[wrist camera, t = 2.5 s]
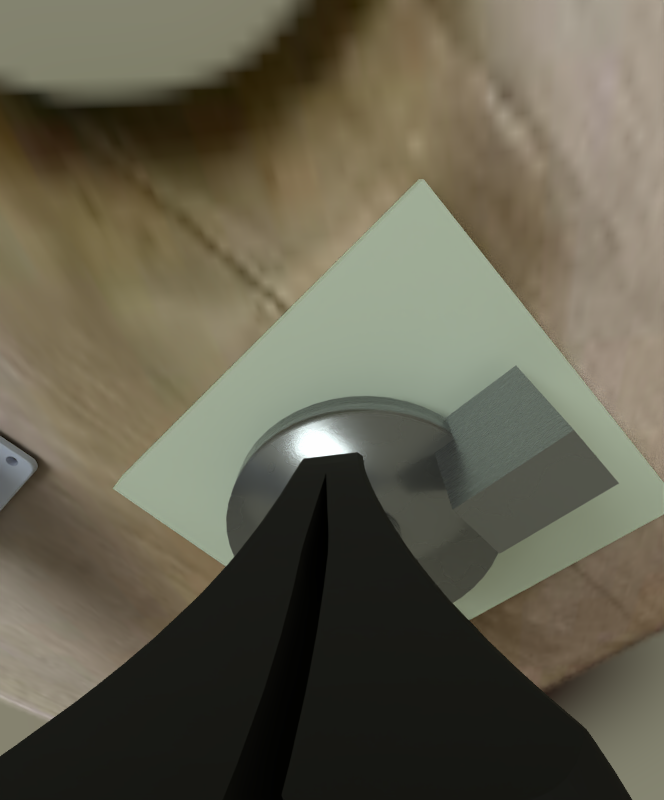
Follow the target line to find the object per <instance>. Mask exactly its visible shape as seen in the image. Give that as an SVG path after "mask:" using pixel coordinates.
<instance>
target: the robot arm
mask: <svg viewBox="0 0 664 800" xmlns="http://www.w3.org/2000/svg"><path fill="white" fill-rule="evenodd" d="M13 457H14V458H15V459H16V460H15V459H14V458H13ZM37 468H38V465H37V462H36V460H35V459H34V458H32V457H31V456H29V455H28V454H26V453H25V452H24V451H22V450H21V449H19V448H18V447H16V446H15V445H13V444H12V443H10V442H9V441H7V440H6V439H4V438H3V437H1V436H0V511H1V510H2V509H3V508H4V506H5V505H6V504H7V503H8V502H9V501H10V500H11V498H12V497H13V496H14V495H15V494H16V493H17V492H18V490H19V489H20V488H21V487H22V486H23V485H24V484H25V482H26V481H27V480H28V479H29V478H30V477H31V476H32V475H33V473H34V472H35V471H36V470H37ZM0 800H632V799H631V797H630V795H629V794H628V792H627V790H626V789H625V787H624V785H623V784H622V782H621V781H620V779H619V777H618V776H617V774H616V773H615V771H614V769H613V768H612V766H611V765H610V763H609V762H608V760H607V759H606V757H605V756H604V754H603V753H602V751H601V750H600V748H599V747H598V745H597V744H596V742H595V741H594V739H593V738H592V737H591V735H590V734H589V732H588V731H587V730H586V729H585V728H584V727H583V726H582V725H581V724H580V723H579V722H577V721H576V720H575V719H574V718H573V717H572V716H570V715H569V714H568V713H567V712H566V711H565V710H564V709H562V708H561V707H560V706H559V705H558V704H556V703H555V702H554V701H553V700H552V699H550V698H549V697H548V696H547V695H546V694H545V693H544V692H543V691H542V690H541V689H539V688H538V687H537V686H536V685H535V684H534V683H533V682H532V681H530V680H529V679H528V678H527V677H526V676H525V675H524V674H523V673H522V672H520V671H519V670H518V669H517V668H516V667H515V666H514V665H513V664H512V663H511V662H510V661H509V660H508V659H507V658H506V657H505V656H504V655H503V654H502V653H501V652H499V651H498V650H497V649H496V648H495V647H494V646H493V645H492V644H491V643H490V642H489V641H488V640H487V639H486V638H485V637H484V636H483V635H482V634H481V633H480V632H479V630H478V629H477V628H476V627H475V626H474V625H473V624H472V623H471V622H470V621H469V620H468V619H467V618H466V617H465V616H464V615H463V614H462V613H461V611H460V610H459V609H458V608H457V607H456V606H455V605H454V604H453V603H452V602H451V601H450V600H449V599H448V598H447V596H446V595H445V594H444V593H443V592H442V590H441V589H440V588H439V587H438V586H437V585H436V583H435V582H434V581H433V580H432V579H431V577H430V576H429V575H428V574H427V572H426V571H425V570H424V568H423V567H422V566H421V565H420V563H419V562H418V561H417V559H416V558H415V557H414V555H413V554H412V553H411V551H410V550H409V548H408V547H407V546H406V544H405V543H404V541H403V540H402V538H401V537H400V535H399V534H398V532H397V531H396V529H395V528H394V526H393V524H392V523H391V521H390V519H389V518H388V516H387V515H386V513H385V511H384V509H383V507H382V505H381V503H380V502H379V500H378V498H377V496H376V494H375V492H374V490H373V488H372V486H371V483H370V481H369V479H368V476H367V473H366V470H365V466H364V460H363V456H362V455H361V454H359V453H358V452H353V453H345V454H336V455H328V456H319V457H311V458H304V459H303V460H302V461H301V462H300V464H299V465H298V467H297V469H296V470H295V472H294V473H293V475H292V477H291V478H290V480H289V481H288V483H287V485H286V486H285V488H284V489H283V491H282V492H281V494H280V495H279V497H278V498H277V500H276V501H275V503H274V504H273V506H272V507H271V509H270V510H269V511H268V513H267V514H266V516H265V517H264V519H263V520H262V522H261V523H260V524H259V526H258V527H257V528H256V530H255V531H254V532H253V533H252V535H251V536H250V537H249V539H248V540H247V541H246V542H245V544H244V545H243V546H242V548H241V549H240V550H239V551H238V553H237V554H236V555H235V556H234V558H233V559H232V560H231V561H230V562H229V563H228V565H227V566H226V567H225V568H224V569H223V570H222V571H221V573H220V574H219V575H218V576H217V577H216V578H215V579H214V580H213V581H212V582H211V584H210V585H209V586H208V587H207V588H206V589H205V590H204V591H203V592H202V593H201V594H200V595H199V596H198V597H197V598H196V599H195V600H194V601H193V602H192V603H191V604H190V605H189V606H188V607H187V608H186V609H185V610H184V611H183V612H181V613H180V614H179V615H178V616H177V617H176V618H175V619H174V620H173V621H172V622H171V623H170V624H169V625H168V626H167V627H165V628H164V629H163V630H162V631H161V632H160V633H159V634H158V635H157V636H156V637H155V638H154V639H153V640H151V641H150V642H149V643H148V644H147V645H146V646H144V647H143V648H142V649H141V650H140V651H139V652H137V653H136V654H135V655H134V656H133V657H131V658H130V659H129V660H128V661H127V662H126V663H124V664H123V665H122V666H121V667H119V668H118V669H117V670H116V671H114V672H113V673H112V674H111V675H109V676H108V677H107V678H106V679H104V680H103V681H102V682H101V683H99V684H98V685H97V686H96V687H94V688H93V689H92V690H91V691H89V692H88V693H87V694H85V695H84V696H83V697H81V698H80V699H79V700H78V701H76V702H75V703H74V704H72V705H71V706H69V707H68V708H67V709H65V710H64V711H62V712H61V713H60V714H58V715H57V716H56V717H54V718H53V719H51V720H50V721H49V722H47V723H46V724H45V725H43V726H42V727H40V728H39V729H38V730H36V731H35V732H34V733H32V734H31V735H29V736H28V737H27V738H25V739H24V740H22V741H21V742H20V743H18V744H17V745H16V746H14V747H13V748H11V749H10V750H8V751H7V752H6V753H4V754H3V755H1V756H0Z"/></svg>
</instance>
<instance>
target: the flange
mask: <svg viewBox="0 0 664 800" xmlns="http://www.w3.org/2000/svg"><path fill="white" fill-rule="evenodd" d="M353 452H358V453H359V454H361V455H362V456H363V460H364V466H365V470H366V473H367V476H368V479H369V481H370V483H371V486H372V488H373V490H374V492H375V494H376V496H377V498H378V500H379V502H380V503H381V505H382V507H383V509H384V511H385V513H386V515H387V516H388V518H389V519H390V521H391V523H392V524H393V526H394V528H395V529H396V531H397V532H398V534H399V535H400V537H401V538H402V540H403V541H404V543H405V544H406V546H407V547H408V548H409V550H410V551H411V553H412V554H413V555H414V557H415V558H416V559H417V561H418V562H419V563H420V565H421V566H422V567H423V568H424V570H425V571H426V572H427V574H428V575H429V576H430V577H431V579H432V580H433V581H434V582H435V583H436V585H437V586H438V587H439V588H440V589H441V590H442V592H443V593H444V594H445V595H446V596H447V598H448V599H449V600H450V601H451V602H452V603H454V602H455V601H457V600H458V599H460V598H462V597H463V596H464V595H465V594H466V593H468V592H469V591H470V590H471V589H473V588H474V587H475V586H476V585H477V583H478V582H479V581H480V580H481V579H482V578H483V577H484V576H485V574H486V573H487V572H488V570H489V569H490V568H491V566H492V564H493V562H494V560H495V559H496V557H497V555H498V553H499V554H500V553H502V552H503V551H505V550H507V549H509V548H510V547H512V546H514V545H515V544H517V543H519V542H520V541H522V540H524V539H526V538H527V537H529V536H531V535H532V534H534V533H536V532H537V531H539V530H541V529H543V528H544V527H546V526H548V525H549V524H551V523H553V522H554V521H556V520H558V519H559V518H561V517H563V516H565V515H566V514H568V513H570V512H571V511H573V510H575V509H576V508H578V507H580V506H582V505H583V504H585V503H587V502H588V501H590V500H592V499H593V498H595V497H597V496H599V495H600V494H602V493H604V492H605V491H607V490H609V489H610V488H612V487H614V486H616V485H617V484H619V482H618V481H617V480H616V479H615V478H614V477H613V475H612V474H611V473H610V472H609V471H608V469H607V468H606V467H605V466H604V465H603V464H602V462H601V461H600V460H599V459H598V458H597V456H596V455H595V454H594V453H593V452H592V451H591V449H590V448H589V447H588V446H587V445H586V443H585V442H584V441H583V440H582V439H581V438H580V436H579V435H578V434H577V433H576V432H575V430H574V429H573V428H572V427H571V426H570V425H569V424H568V423H567V421H566V420H565V419H564V418H563V417H562V416H561V415H560V414H559V413H558V411H557V410H556V409H555V408H554V407H553V406H552V405H551V404H550V403H549V401H548V400H547V399H546V398H545V397H544V396H543V395H542V394H541V393H540V391H539V390H538V389H537V388H536V387H535V386H534V385H533V384H532V383H531V381H530V380H529V379H528V378H527V377H526V376H525V375H524V374H523V372H522V371H521V370H520V369H519V368H518V367H517V366H514V367H513V368H512V369H510V370H509V371H508V372H506V373H505V374H504V375H502V376H501V377H500V378H498V379H497V380H496V381H494V382H493V383H492V384H490V385H489V386H488V387H486V388H485V389H484V390H482V391H481V392H480V393H478V394H477V395H476V396H474V397H473V398H472V399H470V400H469V401H468V402H466V403H465V404H463V405H462V406H461V407H459V408H458V409H457V410H455V411H454V412H453V413H451V414H450V415H449V416H447V417H446V418H444V417H443V416H441V415H440V414H438V413H435V412H433V411H431V410H429V409H427V408H425V407H422V406H419V405H416V404H413V403H411V402H408V401H403V400H398V399H393V398H388V397H376V396H351V397H344V398H337V399H331V400H327V401H323V402H320V403H316V404H313V405H310V406H308V407H305V408H303V409H301V410H298V411H296V412H294V413H292V414H291V415H289V416H287V417H285V418H284V419H282V420H280V421H279V422H278V423H276V424H275V425H274V426H272V427H271V428H270V429H269V430H267V431H266V432H265V433H264V434H263V435H262V436H261V437H260V438H259V440H258V441H257V442H256V443H255V444H254V446H253V447H252V448H251V450H250V451H249V453H248V454H247V456H246V458H245V460H244V462H243V464H242V466H241V468H240V471H239V473H238V476H237V479H236V482H235V484H234V487H233V490H232V493H231V496H230V499H229V503H228V508H227V515H226V527H227V536H228V540H229V545H230V548H231V550H232V553H233V555H234V556H235V555H236V554H237V553H238V551H239V550H240V549H241V548H242V546H243V545H244V544H245V542H246V541H247V540H248V539H249V537H250V536H251V535H252V533H253V532H254V531H255V530H256V528H257V527H258V526H259V524H260V523H261V522H262V520H263V519H264V517H265V516H266V514H267V513H268V511H269V510H270V509H271V507H272V506H273V504H274V503H275V501H276V500H277V498H278V497H279V495H280V494H281V492H282V491H283V489H284V488H285V486H286V485H287V483H288V481H289V480H290V478H291V477H292V475H293V473H294V472H295V470H296V469H297V467H298V465H299V464H300V462H301V461H302V460H303V459H304V458H311V457H319V456H328V455H336V454H345V453H353Z"/></svg>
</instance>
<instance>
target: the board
mask: <svg viewBox="0 0 664 800" xmlns="http://www.w3.org/2000/svg"><path fill="white" fill-rule="evenodd" d="M514 366H517V367H518V368H519V369H520V370H521V371H522V372H523V374H524V375H525V376H526V377H527V378H528V379H529V380H530V381H531V383H532V384H533V385H534V386H535V387H536V388H537V389H538V390H539V391H540V393H541V394H542V395H543V396H544V397H545V398H546V399H547V400H548V401H549V403H550V404H551V405H552V406H553V407H554V408H555V409H556V410H557V411H558V413H559V414H560V415H561V416H562V417H563V418H564V419H565V420H566V421H567V423H568V424H569V425H570V426H571V427H572V428H573V429H574V430H575V432H576V433H577V434H578V435H579V436H580V438H581V439H582V440H583V441H584V442H585V443H586V445H587V446H588V447H589V448H590V449H591V451H592V452H593V453H594V454H595V455H596V456H597V458H598V459H599V460H600V461H601V462H602V464H603V465H604V466H605V467H606V468H607V469H608V471H609V472H610V473H611V474H612V475H613V477H614V478H615V479H616V480H617V481H618V482H619V484H617V485H616V486H614V487H612V488H610V489H609V490H607V491H605V492H604V493H602V494H600V495H599V496H597V497H595V498H593V499H592V500H590V501H588V502H587V503H585V504H583V505H582V506H580V507H578V508H576V509H575V510H573V511H571V512H570V513H568V514H566V515H565V516H563V517H561V518H559V519H558V520H556V521H554V522H553V523H551V524H549V525H548V526H546V527H544V528H543V529H541V530H539V531H537V532H536V533H534V534H532V535H531V536H529V537H527V538H526V539H524V540H522V541H520V542H519V543H517V544H515V545H514V546H512V547H510V548H509V549H507V550H505V551H503V552H502V553H500V554H499V553H498V555H497V557H496V559H495V560H494V562H493V564H492V566H491V568H490V569H489V570H488V572H487V573H486V574H485V576H484V577H483V578H482V579H481V580H480V581H479V582H478V583H477V585H476V586H475V587H474V588H473V589H471V590H470V591H469V592H468V593H466V594H465V595H464V596H463V597H462V598H460V599H458V600H457V601H455V602H454V603H453V604H454V605H455V606H456V607H457V608H458V609H459V610H460V611H461V613H462V614H463V615H464V616H465V617H466V618H467V619H468V620H470V619H472V618H474V617H476V616H478V615H480V614H481V613H483V612H485V611H487V610H489V609H491V608H492V607H494V606H496V605H498V604H500V603H502V602H504V601H505V600H507V599H509V598H511V597H513V596H515V595H516V594H518V593H520V592H522V591H524V590H526V589H527V588H529V587H531V586H533V585H535V584H537V583H538V582H540V581H542V580H544V579H546V578H548V577H549V576H551V575H553V574H555V573H557V572H559V571H560V570H562V569H564V568H566V567H568V566H570V565H572V564H573V563H575V562H577V561H579V560H581V559H583V558H584V557H586V556H588V555H590V554H592V553H594V552H595V551H597V550H599V549H601V548H603V547H605V546H606V545H608V544H610V543H612V542H614V541H616V540H617V539H619V538H621V537H623V536H625V535H627V534H628V533H630V532H632V531H634V530H636V529H638V528H640V527H641V526H643V525H645V524H647V523H649V522H651V521H652V520H654V519H656V518H658V517H660V516H662V515H663V514H664V482H663V481H662V480H661V479H660V477H659V476H658V475H657V473H656V472H655V471H654V470H653V468H652V467H651V466H650V465H649V463H648V462H647V461H646V460H645V458H644V457H643V456H642V455H641V453H640V452H639V451H638V449H637V448H636V447H635V446H634V444H633V443H632V442H631V441H630V439H629V438H628V437H627V436H626V434H625V433H624V432H623V431H622V429H621V428H620V427H619V425H618V424H617V423H616V422H615V420H614V419H613V418H612V417H611V415H610V414H609V413H608V412H607V410H606V409H605V408H604V407H603V405H602V404H601V403H600V401H599V400H598V399H597V398H596V396H595V395H594V394H593V393H592V391H591V390H590V389H589V388H588V386H587V385H586V384H585V383H584V381H583V380H582V379H581V378H580V376H579V375H578V374H577V372H576V371H575V370H574V369H573V367H572V366H571V365H570V364H569V362H568V361H567V360H566V359H565V357H564V356H563V355H562V354H561V352H560V351H559V350H558V348H557V347H556V346H555V345H554V343H553V342H552V341H551V340H550V338H549V337H548V336H547V335H546V333H545V332H544V331H543V330H542V328H541V327H540V326H539V324H538V323H537V322H536V321H535V319H534V318H533V317H532V316H531V314H530V313H529V312H528V311H527V309H526V308H525V307H524V306H523V304H522V303H521V302H520V300H519V299H518V298H517V297H516V295H515V294H514V293H513V292H512V290H511V289H510V288H509V287H508V285H507V284H506V283H505V282H504V280H503V279H502V278H501V276H500V275H499V274H498V273H497V271H496V270H495V269H494V268H493V266H492V265H491V264H490V263H489V261H488V260H487V259H486V258H485V256H484V255H483V254H482V252H481V251H480V250H479V249H478V247H477V246H476V245H475V244H474V242H473V241H472V240H471V239H470V237H469V236H468V235H467V234H466V232H465V231H464V230H463V228H462V227H461V226H460V225H459V223H458V222H457V221H456V220H455V218H454V217H453V216H452V215H451V213H450V212H449V211H448V210H447V208H446V207H445V206H444V205H443V203H442V202H441V201H440V199H439V198H438V197H437V196H436V194H435V193H434V192H433V191H432V189H431V188H430V187H429V186H428V184H427V183H426V182H425V181H424V179H419V180H418V181H417V182H416V183H415V184H414V185H413V186H412V187H411V188H410V189H409V190H408V191H407V192H406V193H405V194H404V195H403V196H402V197H401V198H400V199H399V200H398V201H397V202H396V203H395V204H394V205H393V206H392V207H391V208H390V209H389V210H388V211H387V212H386V213H385V214H384V215H383V216H382V217H381V218H380V219H379V220H378V221H377V222H376V223H375V224H374V225H373V226H372V227H371V228H370V229H369V230H368V231H367V232H366V233H365V234H364V235H363V236H362V237H361V238H360V239H359V240H358V241H357V242H356V243H355V244H354V245H353V246H352V247H351V248H350V249H349V250H348V251H347V252H346V253H345V254H344V255H343V256H342V257H341V258H340V259H339V260H338V261H337V262H336V263H335V264H334V265H333V266H332V267H331V268H330V269H329V270H328V271H327V272H326V273H325V274H324V275H323V276H322V277H321V278H320V279H319V280H318V281H317V282H316V283H315V284H314V285H313V286H312V287H311V288H310V289H309V290H308V291H307V292H306V293H305V294H304V295H303V296H302V297H301V298H300V299H299V300H298V301H297V302H296V303H295V304H294V305H293V306H292V307H291V308H290V309H289V310H288V311H287V312H286V313H285V314H284V315H283V316H282V317H281V318H280V319H279V320H278V321H277V322H276V323H275V324H274V325H273V326H272V327H271V328H270V329H269V330H268V331H267V332H266V333H265V334H264V335H263V336H262V337H261V338H260V339H259V340H258V341H257V342H256V343H255V344H254V345H253V346H252V347H251V348H250V349H249V350H248V351H247V352H246V353H245V354H244V355H243V356H242V357H241V358H240V359H239V360H238V361H237V362H236V363H235V364H234V365H233V366H232V367H231V368H230V369H229V370H228V371H227V372H226V373H225V374H224V375H223V376H222V377H221V378H220V379H219V380H218V381H217V382H216V383H215V384H214V385H213V386H212V387H211V388H210V389H209V390H208V391H207V392H206V393H205V394H204V395H203V396H202V397H201V398H200V399H199V400H198V401H197V402H196V403H195V404H194V405H193V406H192V407H191V408H190V409H189V410H187V411H186V412H185V413H184V414H183V415H182V416H181V417H180V418H179V419H178V420H177V421H176V422H175V423H174V424H173V425H172V426H171V427H170V428H169V429H168V430H167V431H166V432H165V433H164V434H163V435H162V436H161V437H160V438H159V439H158V440H157V441H156V442H155V443H154V444H153V445H152V446H151V447H150V448H149V449H148V450H147V451H146V452H145V453H144V454H143V455H142V456H141V457H140V458H139V459H138V460H137V461H136V462H135V463H134V464H133V465H132V466H131V467H130V468H129V469H128V470H127V471H126V472H125V473H124V474H123V475H122V477H121V478H120V479H119V481H118V482H117V484H116V485H115V486H114V488H113V489H114V490H116V491H117V492H119V493H120V494H122V495H123V496H124V497H126V498H127V499H129V500H130V501H132V502H133V503H135V504H136V505H138V506H139V507H140V508H142V509H143V510H145V511H146V512H148V513H149V514H151V515H152V516H153V517H155V518H156V519H158V520H159V521H161V522H162V523H164V524H165V525H167V526H168V527H169V528H171V529H172V530H174V531H175V532H177V533H178V534H180V535H181V536H182V537H184V538H185V539H187V540H188V541H190V542H191V543H193V544H194V545H196V546H197V547H198V548H200V549H201V550H203V551H204V552H206V553H207V554H209V555H210V556H211V557H213V558H214V559H216V560H217V561H219V562H220V563H222V564H223V565H225V566H227V565H228V563H229V562H230V561H231V560H232V559H233V558H234V555H233V553H232V550H231V548H230V545H229V540H228V536H227V527H226V515H227V508H228V503H229V499H230V496H231V493H232V490H233V487H234V484H235V482H236V479H237V476H238V473H239V471H240V468H241V466H242V464H243V462H244V460H245V458H246V456H247V454H248V453H249V451H250V450H251V448H252V447H253V446H254V444H255V443H256V442H257V441H258V440H259V438H260V437H261V436H262V435H263V434H264V433H265V432H266V431H267V430H269V429H270V428H271V427H272V426H274V425H275V424H276V423H278V422H279V421H280V420H282V419H284V418H285V417H287V416H289V415H291V414H292V413H294V412H296V411H298V410H301V409H303V408H305V407H308V406H310V405H313V404H316V403H320V402H323V401H327V400H331V399H337V398H344V397H351V396H376V397H388V398H393V399H398V400H403V401H408V402H411V403H413V404H416V405H419V406H422V407H425V408H427V409H429V410H431V411H433V412H435V413H438V414H440V415H441V416H443V417H444V418H446V417H447V416H449V415H450V414H451V413H453V412H454V411H455V410H457V409H458V408H459V407H461V406H462V405H463V404H465V403H466V402H468V401H469V400H470V399H472V398H473V397H474V396H476V395H477V394H478V393H480V392H481V391H482V390H484V389H485V388H486V387H488V386H489V385H490V384H492V383H493V382H494V381H496V380H497V379H498V378H500V377H501V376H502V375H504V374H505V373H506V372H508V371H509V370H510V369H512V368H513V367H514Z"/></svg>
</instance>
